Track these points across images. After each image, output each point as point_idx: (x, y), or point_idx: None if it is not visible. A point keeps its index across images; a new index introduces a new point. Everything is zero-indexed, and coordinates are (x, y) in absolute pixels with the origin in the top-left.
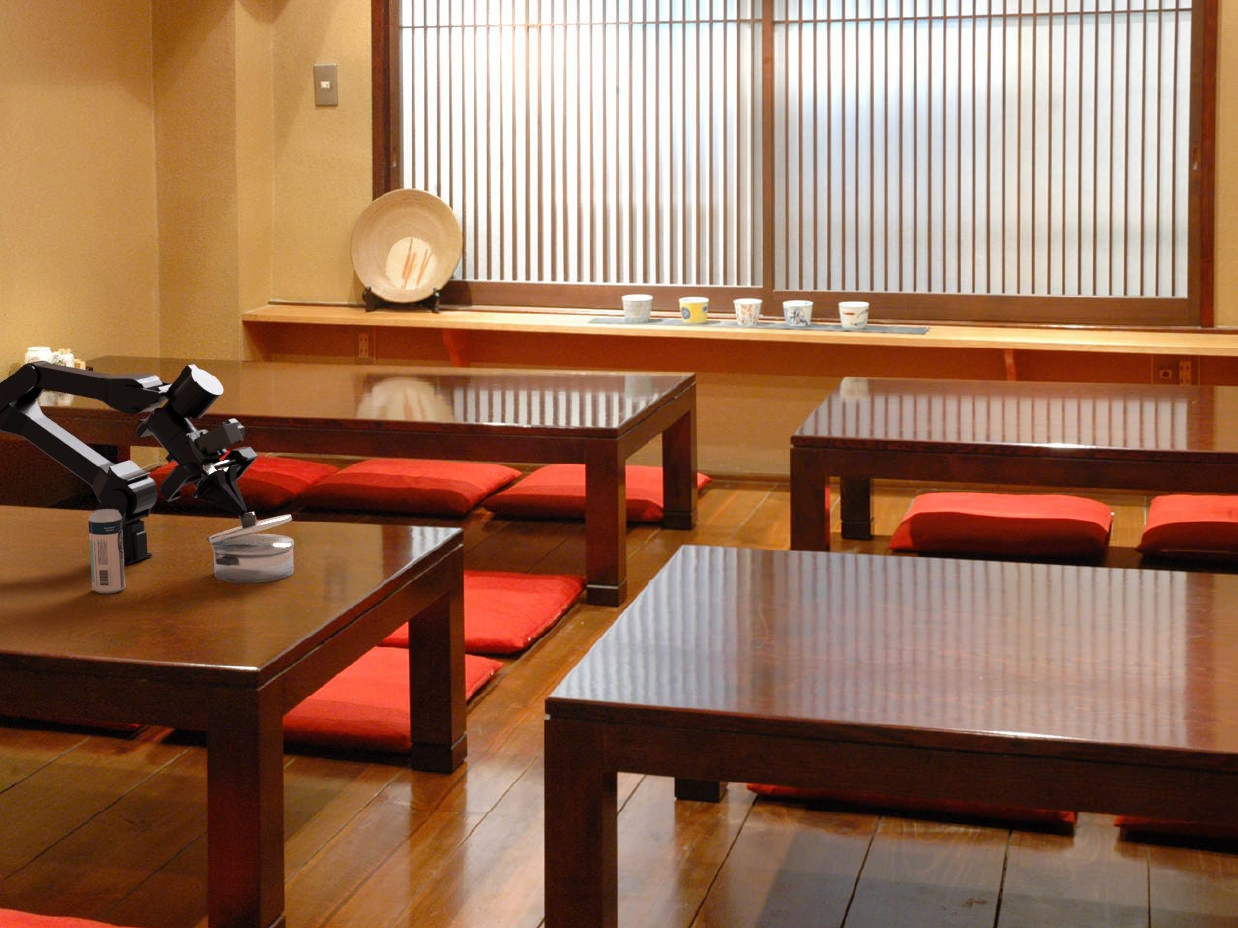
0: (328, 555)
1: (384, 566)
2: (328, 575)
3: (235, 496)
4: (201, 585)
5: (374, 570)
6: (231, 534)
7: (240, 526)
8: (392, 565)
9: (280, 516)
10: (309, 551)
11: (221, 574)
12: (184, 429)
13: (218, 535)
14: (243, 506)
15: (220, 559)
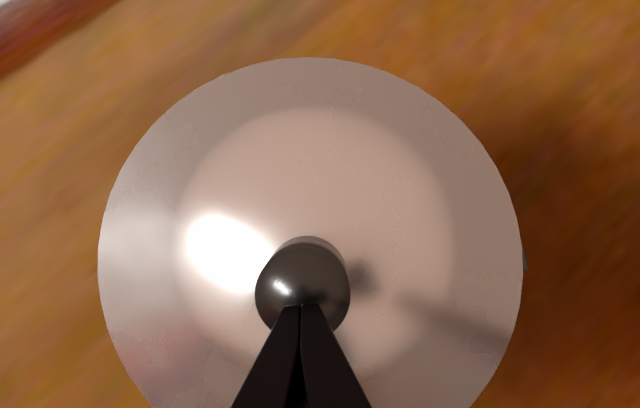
0: (44, 217)
1: (92, 16)
2: None
3: (314, 395)
4: (525, 313)
5: (138, 12)
6: (512, 214)
7: None
8: (75, 7)
9: (133, 218)
10: (22, 302)
11: None
12: None
13: (468, 345)
14: (298, 321)
15: (522, 250)
